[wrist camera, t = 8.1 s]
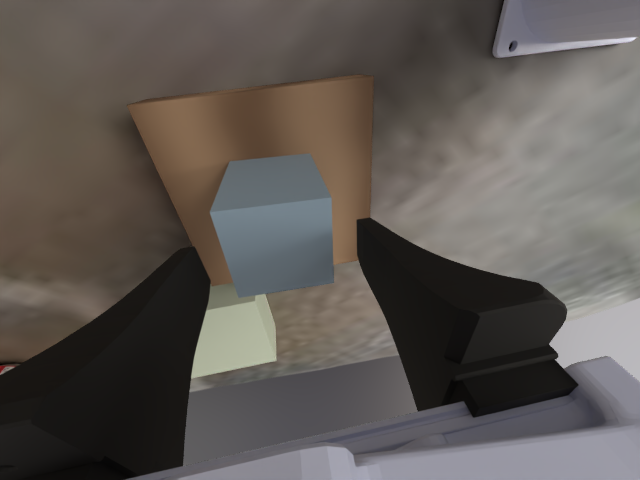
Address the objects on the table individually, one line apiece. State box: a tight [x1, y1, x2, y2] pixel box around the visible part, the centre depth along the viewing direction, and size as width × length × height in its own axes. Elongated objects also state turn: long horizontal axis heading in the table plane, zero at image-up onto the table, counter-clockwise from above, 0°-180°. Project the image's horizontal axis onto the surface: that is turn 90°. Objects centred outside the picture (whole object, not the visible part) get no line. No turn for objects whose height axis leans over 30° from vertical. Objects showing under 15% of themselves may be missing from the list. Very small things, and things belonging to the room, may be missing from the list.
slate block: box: [210, 153, 334, 298], centre depth 13 cm, size 4×4×6 cm
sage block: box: [191, 283, 276, 378], centre depth 22 cm, size 8×8×4 cm
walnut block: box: [127, 74, 374, 286], centre depth 17 cm, size 12×12×3 cm
